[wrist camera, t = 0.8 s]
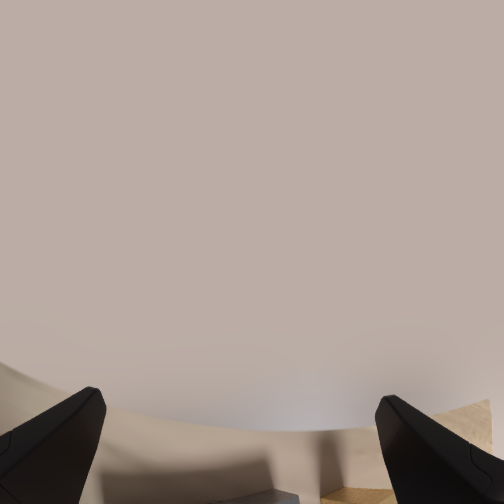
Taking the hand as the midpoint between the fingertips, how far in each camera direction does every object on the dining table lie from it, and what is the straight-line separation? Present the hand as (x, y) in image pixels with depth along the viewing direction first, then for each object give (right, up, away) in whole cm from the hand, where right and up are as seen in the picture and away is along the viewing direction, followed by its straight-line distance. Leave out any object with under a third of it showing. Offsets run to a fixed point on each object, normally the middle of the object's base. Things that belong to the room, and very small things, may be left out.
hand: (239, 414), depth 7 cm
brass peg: (+9, -23, +13) cm, 28 cm away
